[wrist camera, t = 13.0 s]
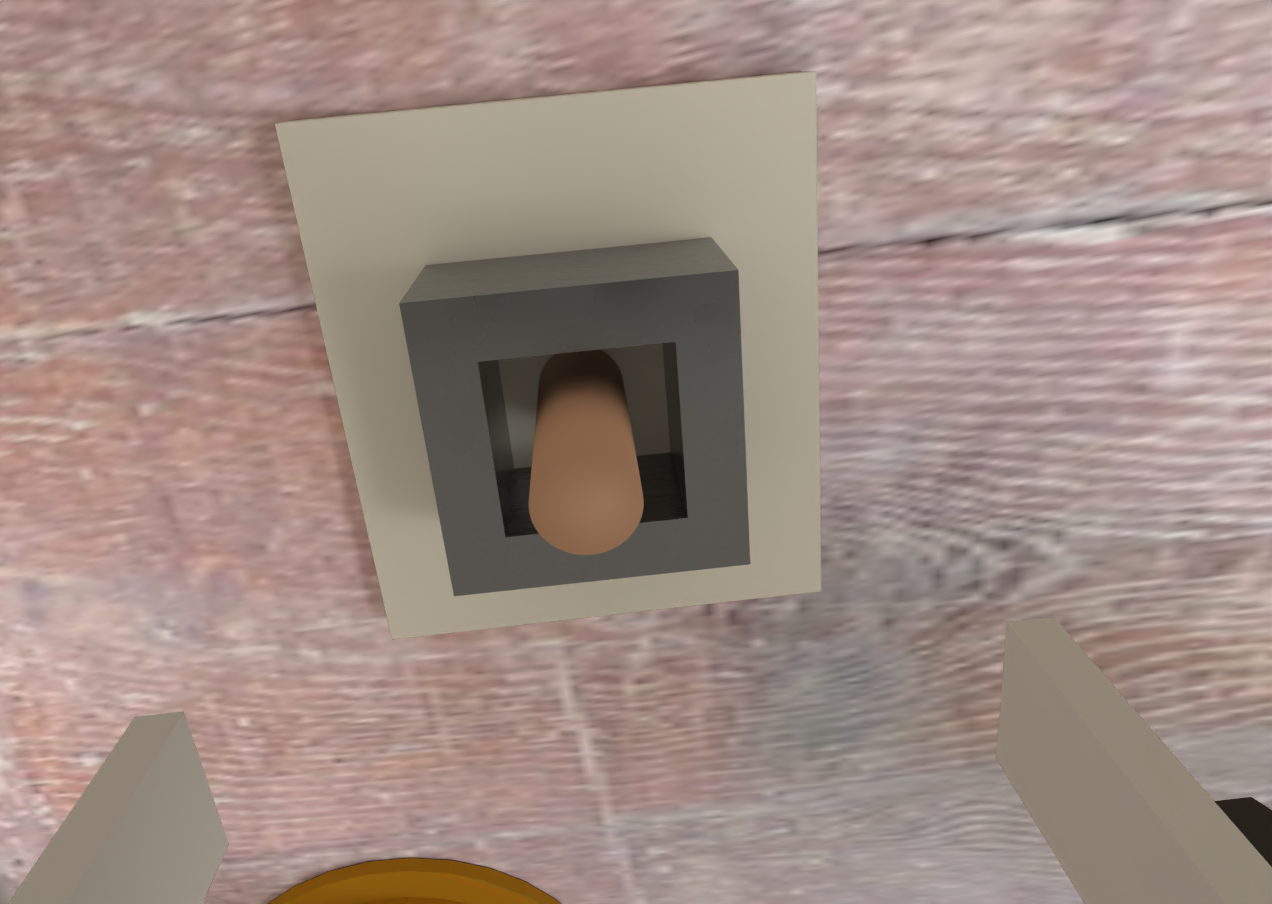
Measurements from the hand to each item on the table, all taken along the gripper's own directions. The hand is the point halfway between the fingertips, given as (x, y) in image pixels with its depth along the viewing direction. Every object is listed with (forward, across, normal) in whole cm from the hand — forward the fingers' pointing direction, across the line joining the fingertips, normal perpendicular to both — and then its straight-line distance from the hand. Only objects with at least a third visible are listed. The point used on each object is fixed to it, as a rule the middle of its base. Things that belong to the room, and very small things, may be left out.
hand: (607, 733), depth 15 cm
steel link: (+17, 0, 0) cm, 17 cm away
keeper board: (+19, 0, 0) cm, 19 cm away
